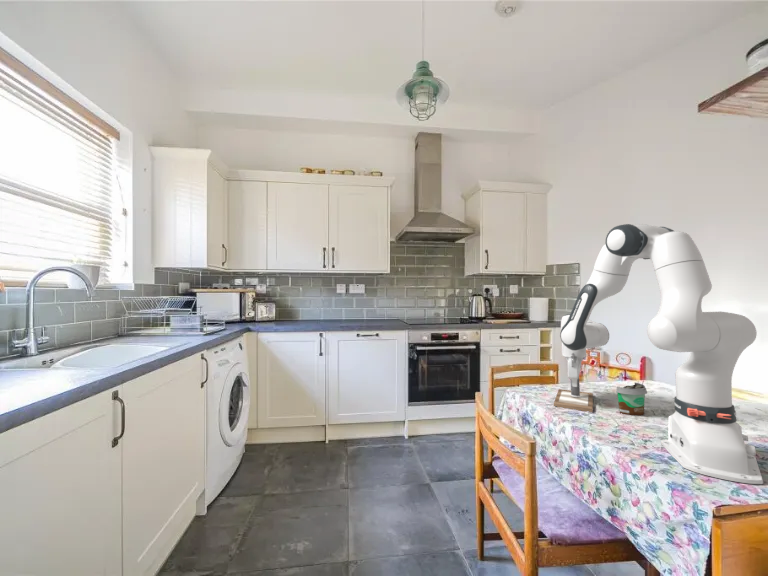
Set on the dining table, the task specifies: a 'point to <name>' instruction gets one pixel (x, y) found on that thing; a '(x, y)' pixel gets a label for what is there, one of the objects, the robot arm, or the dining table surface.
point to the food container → (631, 399)
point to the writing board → (574, 400)
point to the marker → (575, 389)
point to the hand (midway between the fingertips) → (575, 385)
